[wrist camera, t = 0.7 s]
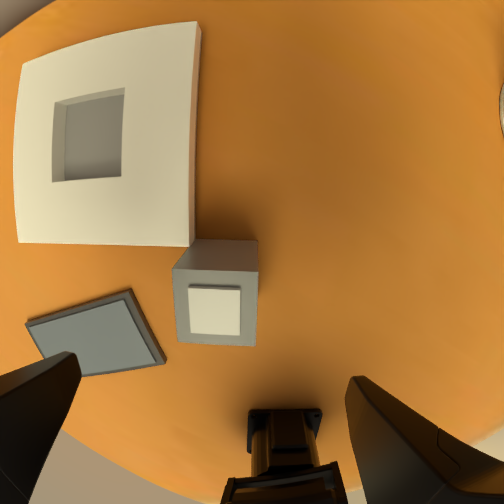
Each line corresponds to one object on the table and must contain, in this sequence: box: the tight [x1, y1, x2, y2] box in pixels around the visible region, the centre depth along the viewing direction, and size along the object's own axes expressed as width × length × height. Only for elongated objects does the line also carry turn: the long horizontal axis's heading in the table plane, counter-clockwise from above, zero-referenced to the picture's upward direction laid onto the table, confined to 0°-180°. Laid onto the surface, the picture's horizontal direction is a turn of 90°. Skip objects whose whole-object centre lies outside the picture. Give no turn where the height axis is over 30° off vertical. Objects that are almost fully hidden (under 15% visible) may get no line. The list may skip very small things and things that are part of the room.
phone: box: [25, 289, 167, 377], centre depth 22 cm, size 6×13×1 cm, turn 108°
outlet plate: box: [13, 21, 202, 247], centre depth 16 cm, size 14×14×2 cm
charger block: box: [172, 239, 258, 346], centre depth 17 cm, size 4×4×6 cm
